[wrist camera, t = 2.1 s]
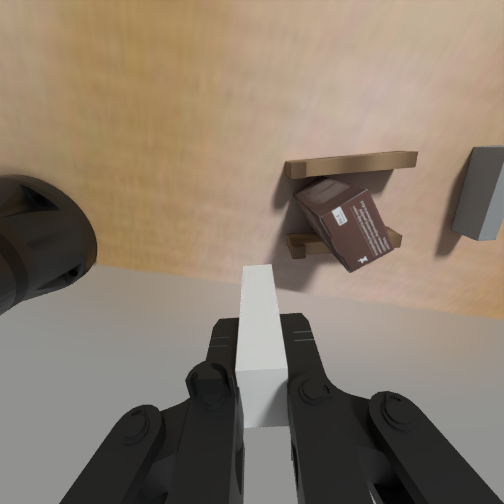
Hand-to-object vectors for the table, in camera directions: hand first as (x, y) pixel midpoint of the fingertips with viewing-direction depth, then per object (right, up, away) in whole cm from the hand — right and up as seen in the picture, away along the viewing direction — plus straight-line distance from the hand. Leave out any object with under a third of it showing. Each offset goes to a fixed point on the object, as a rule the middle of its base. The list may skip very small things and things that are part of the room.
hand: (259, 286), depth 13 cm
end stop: (+26, +9, +16) cm, 32 cm away
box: (+8, +8, +16) cm, 20 cm away
